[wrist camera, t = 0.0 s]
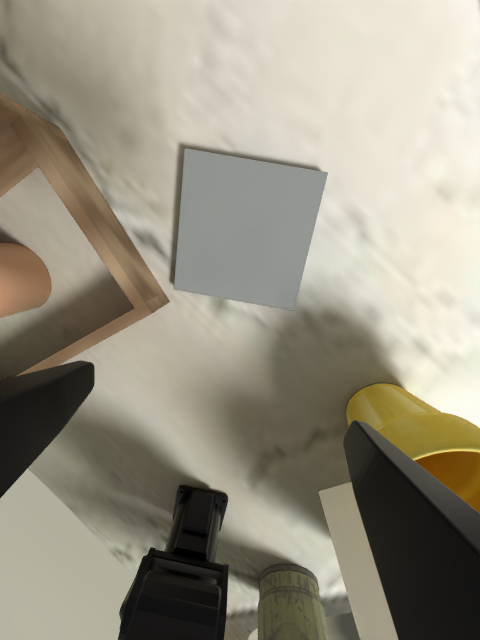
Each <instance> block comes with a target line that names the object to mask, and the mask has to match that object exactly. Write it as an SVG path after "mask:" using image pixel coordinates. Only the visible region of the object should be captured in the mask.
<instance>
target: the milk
mask: <svg viewBox="0 0 480 640" xmlns="http://www.w3.org/2000/svg"><path fill="white" fill-rule="evenodd" d="M318 492H319V496H320V499H321V503H322V507H323V510H324V514H325V517H326V521H327V524H328V528H329V531H330V535H331V538H332V542H333V545H334V549H335V552H336V556H337V559H338V563H339V567H340V570H341V574H342V577H343V581H344V584H345V588H346V591H347V595H348V598H349V602H350V605H351V609H352V612H353V616H354V619H355V623H356V627H357V630H358V633H359V637H360V640H398V637H397V633H396V630H395V627H394V624H393V620H392V617H391V614H390V610H389V607H388V604H387V601H386V597H385V594H384V591H383V588H382V584H381V581H380V578H379V575H378V571H377V568H376V565H375V562H374V558H373V555H372V552H371V548H370V545H369V542H368V539H367V535H366V532H365V529H364V526H363V522H362V519H361V516H360V513H359V509H358V506H357V503H356V499H355V496H354V492H353V488H352V483H351V482H349V483H345V484H342V485H339V486H335V487H332V488H328V489H325V490H321V491H318Z"/></svg>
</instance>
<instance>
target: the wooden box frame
mask: <svg viewBox="0 0 480 640" xmlns="http://www.w3.org/2000/svg"><path fill="white" fill-rule="evenodd" d="M36 167H39V168H40V169H41V171H42V172H43V174H44V175H45V177H46V178H47V180H48V181H49V183H50V184H51V186H52V187H53V189H54V190H55V192H56V193H57V195H58V196H59V197H60V199H61V200H62V202H63V203H64V205H65V206H66V208H67V209H68V211H69V212H70V214H71V215H72V217H73V218H74V220H75V221H76V222H77V224H78V225H79V227H80V228H81V230H82V231H83V233H84V234H85V236H86V237H87V239H88V240H89V242H90V243H91V245H92V246H93V248H94V249H95V250H96V252H97V253H98V255H99V256H100V258H101V259H102V261H103V262H104V264H105V265H106V267H107V268H108V270H109V271H110V273H111V274H112V275H113V277H114V278H115V280H116V281H117V283H118V284H119V286H120V287H121V289H122V290H123V292H124V293H125V295H126V296H127V298H128V299H129V301H130V302H131V303H132V305H133V306H134V309H133V310H131V311H129V312H127V313H126V314H124V315H122V316H120V317H119V318H117V319H115V320H113V321H111V322H110V323H108V324H106V325H104V326H103V327H101V328H99V329H97V330H96V331H94V332H92V333H90V334H89V335H87V336H85V337H83V338H82V339H80V340H78V341H76V342H75V343H73V344H71V345H69V346H68V347H66V348H64V349H62V350H60V351H59V352H57V353H55V354H53V355H52V356H50V357H48V358H46V359H45V360H43V361H41V362H39V363H38V364H36V365H34V366H32V367H31V368H29V369H27V370H25V371H24V372H22V373H20V374H18V375H17V376H19V375H23V374H27V373H31V372H35V371H39V370H43V369H47V368H51V367H55V366H58V365H59V364H61V363H63V362H65V361H67V360H68V359H70V358H72V357H74V356H76V355H77V354H79V353H81V352H83V351H85V350H87V349H88V348H90V347H92V346H94V345H96V344H97V343H99V342H101V341H103V340H105V339H106V338H108V337H110V336H112V335H114V334H116V333H117V332H119V331H121V330H123V329H125V328H126V327H128V326H130V325H132V324H134V323H135V322H137V321H139V320H141V319H143V318H145V317H146V316H148V315H150V314H152V313H153V312H155V311H156V310H158V309H159V308H161V307H163V306H164V305H166V304H167V303H169V302H170V301H169V300H168V298H167V297H166V295H165V293H164V292H163V290H162V289H161V287H160V286H159V284H158V282H157V281H156V279H155V278H154V276H153V274H152V273H151V271H150V270H149V268H148V267H147V265H146V263H145V262H144V260H143V259H142V257H141V256H140V254H139V252H138V251H137V249H136V248H135V246H134V244H133V243H132V241H131V240H130V238H129V237H128V235H127V233H126V232H125V230H124V229H123V227H122V226H121V224H120V222H119V221H118V219H117V218H116V216H115V214H114V213H113V211H112V210H111V208H110V207H109V205H108V203H107V202H106V200H105V199H104V197H103V195H102V194H101V192H100V191H99V189H98V188H97V186H96V184H95V183H94V181H93V180H92V178H91V177H90V175H89V173H88V172H87V170H86V169H85V167H84V165H83V164H82V162H81V161H80V159H79V158H78V156H77V154H76V153H75V151H74V150H73V148H72V147H71V145H70V143H69V142H68V140H67V139H66V137H65V135H64V134H63V132H62V131H61V129H60V128H58V127H57V126H55V125H53V124H52V123H50V122H48V121H46V120H45V119H43V118H41V117H40V116H38V115H36V114H35V113H33V112H31V111H29V110H28V109H26V108H24V107H23V106H21V105H19V104H18V103H16V102H14V101H12V100H11V99H9V98H7V97H6V96H4V95H2V94H1V93H0V197H1V196H2V195H4V194H5V193H6V192H7V191H8V190H10V189H11V188H12V187H13V186H15V185H16V184H17V183H18V182H19V181H21V180H22V179H23V178H24V177H25V176H27V175H28V174H29V173H30V172H32V171H33V170H34V169H35V168H36Z"/></svg>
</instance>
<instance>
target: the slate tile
mask: <svg viewBox="0 0 480 640" xmlns="http://www.w3.org/2000/svg"><path fill="white" fill-rule="evenodd" d="M327 174H328V172H322V171H316V170H310V169H304V168H298V167H293V166H287V165H281V164H275V163H269V162H263V161H257V160H251V159H245V158H240V157H234V156H228V155H222V154H216V153H210V152H204V151H198V150H192V149H187V148H185V152H184V165H183V178H182V191H181V204H180V217H179V230H178V243H177V256H176V269H175V282H174V289H175V290H180V291H186V292H191V293H197V294H202V295H208V296H213V297H219V298H225V299H230V300H236V301H241V302H247V303H252V304H258V305H263V306H269V307H274V308H280V309H286V310H291V311H294V307H295V303H296V299H297V295H298V291H299V287H300V283H301V279H302V275H303V271H304V267H305V263H306V259H307V255H308V251H309V247H310V243H311V238H312V234H313V230H314V226H315V222H316V218H317V214H318V210H319V206H320V202H321V198H322V194H323V190H324V186H325V182H326V178H327Z"/></svg>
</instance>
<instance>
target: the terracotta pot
mask: <svg viewBox="0 0 480 640" xmlns="http://www.w3.org/2000/svg"><path fill="white" fill-rule="evenodd" d="M50 293H51V278H50V275H49V272H48V270H47V268H46V266H45V264H44V263H43V262H42V260H41V259H40V258H39V257H38V256H37V255H36V254H35V253H34V252H33V251H31V250H30V249H28V248H26V247H24V246H22V245H19V244H15V243H0V318H3V317H7V316H10V315H14V314H17V313H21V312H24V311H28V310H31V309H35V308H38V307H40V306H42V305H43V304H44V303H45V302H46V301H47V300H48V298H49V296H50Z"/></svg>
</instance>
